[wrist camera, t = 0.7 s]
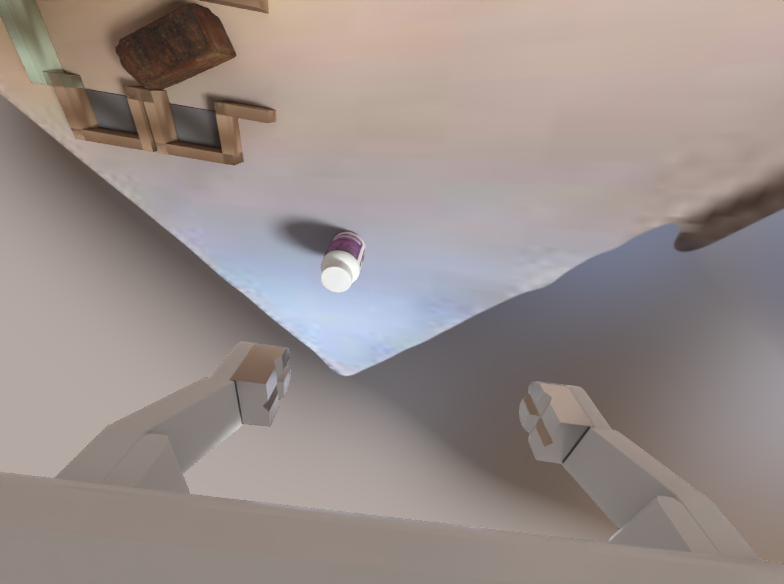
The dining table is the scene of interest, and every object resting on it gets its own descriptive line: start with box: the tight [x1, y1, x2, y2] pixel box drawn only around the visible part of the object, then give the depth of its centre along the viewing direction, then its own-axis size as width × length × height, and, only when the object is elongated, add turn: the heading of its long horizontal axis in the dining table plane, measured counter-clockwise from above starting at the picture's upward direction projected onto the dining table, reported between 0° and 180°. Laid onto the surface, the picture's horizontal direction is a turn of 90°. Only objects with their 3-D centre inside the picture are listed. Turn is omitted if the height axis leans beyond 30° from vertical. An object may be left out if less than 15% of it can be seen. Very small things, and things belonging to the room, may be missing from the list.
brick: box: [116, 4, 236, 90], centre depth 30 cm, size 11×4×5 cm, turn 107°
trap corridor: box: [0, 0, 276, 165], centre depth 32 cm, size 16×26×3 cm, turn 82°
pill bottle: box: [321, 232, 365, 292], centre depth 41 cm, size 5×5×10 cm
